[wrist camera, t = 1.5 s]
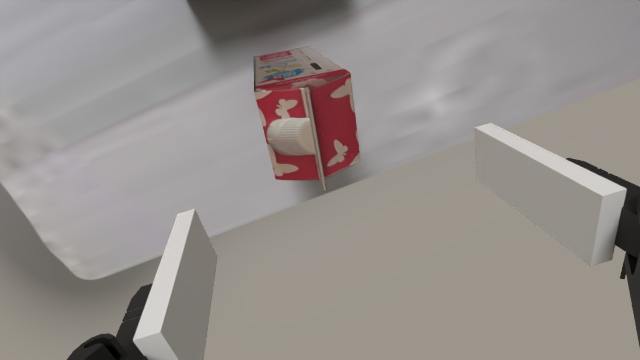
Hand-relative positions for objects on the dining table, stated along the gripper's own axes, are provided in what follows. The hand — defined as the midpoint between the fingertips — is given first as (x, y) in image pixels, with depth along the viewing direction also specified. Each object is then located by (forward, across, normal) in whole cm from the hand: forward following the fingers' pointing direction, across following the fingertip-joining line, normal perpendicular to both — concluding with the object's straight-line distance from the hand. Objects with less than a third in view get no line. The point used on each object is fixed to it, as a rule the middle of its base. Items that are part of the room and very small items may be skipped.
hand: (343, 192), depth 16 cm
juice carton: (+29, 0, 0) cm, 29 cm away
